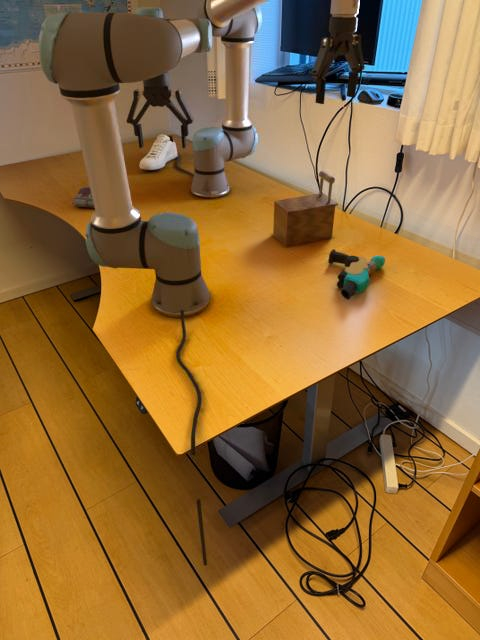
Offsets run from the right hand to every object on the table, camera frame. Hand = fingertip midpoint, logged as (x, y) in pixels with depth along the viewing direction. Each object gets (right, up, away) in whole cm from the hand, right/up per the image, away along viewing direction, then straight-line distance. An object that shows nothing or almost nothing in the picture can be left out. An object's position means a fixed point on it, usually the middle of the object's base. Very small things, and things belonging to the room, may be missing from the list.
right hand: (335, 100), depth 142 cm
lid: (-8, -29, +8) cm, 31 cm away
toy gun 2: (+2, -54, -8) cm, 55 cm away
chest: (-8, -38, +15) cm, 42 cm away
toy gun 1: (-82, -21, +39) cm, 93 cm away
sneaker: (-66, +6, +76) cm, 101 cm away
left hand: (-53, -11, +7) cm, 54 cm away
